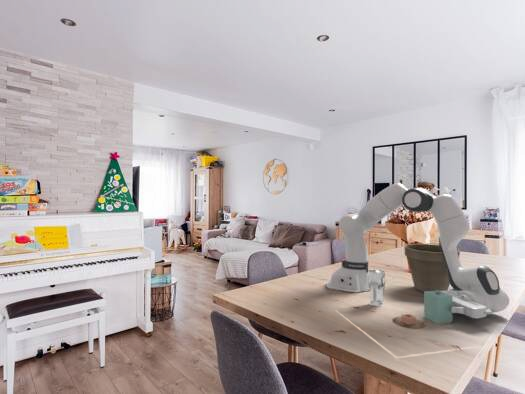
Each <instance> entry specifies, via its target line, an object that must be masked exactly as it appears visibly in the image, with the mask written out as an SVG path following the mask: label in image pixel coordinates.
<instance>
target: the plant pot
mask: <svg viewBox="0 0 525 394" xmlns="http://www.w3.org/2000/svg"><path fill="white" fill-rule="evenodd" d="M456 249H457V253H458V256H459V257H460V254H461V253H460V252H461V251H460V249H458V248H456ZM404 256H405V257H406V259H407V263H408V267H409V271H410V274H411V279H412V282H413V285H414V288H415V289H418V290H417V291H420V292H423V293H424V292H426V291H436V290H440V291H444V290H447V291H449V289H450V288H449V287H450V286H451V285H450V283H449V278H448V271H447V267H446V264H445V261H444V258H443V255H442V251H441V248H440V244H431V243H430V244H429V243H428V244H427V243H408V244H405V245H404Z"/></svg>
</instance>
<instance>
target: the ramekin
mask: <svg viewBox="0 0 525 394" xmlns="http://www.w3.org/2000/svg"><path fill="white" fill-rule="evenodd" d="M400 315H401V316H400V317H402V322H404V323H406V324H407V325H409V324H416V319H417V318H416V316H414V315H413V314H410V313H405V314H400Z"/></svg>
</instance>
